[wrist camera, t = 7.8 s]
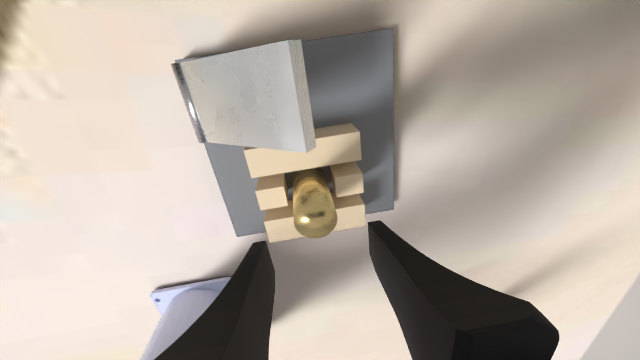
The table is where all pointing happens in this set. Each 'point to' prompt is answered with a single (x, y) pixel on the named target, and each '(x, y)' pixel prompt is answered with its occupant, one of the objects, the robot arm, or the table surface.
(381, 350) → the table surface
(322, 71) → the board
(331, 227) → the pin
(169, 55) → the table surface
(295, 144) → the grey flat plate
